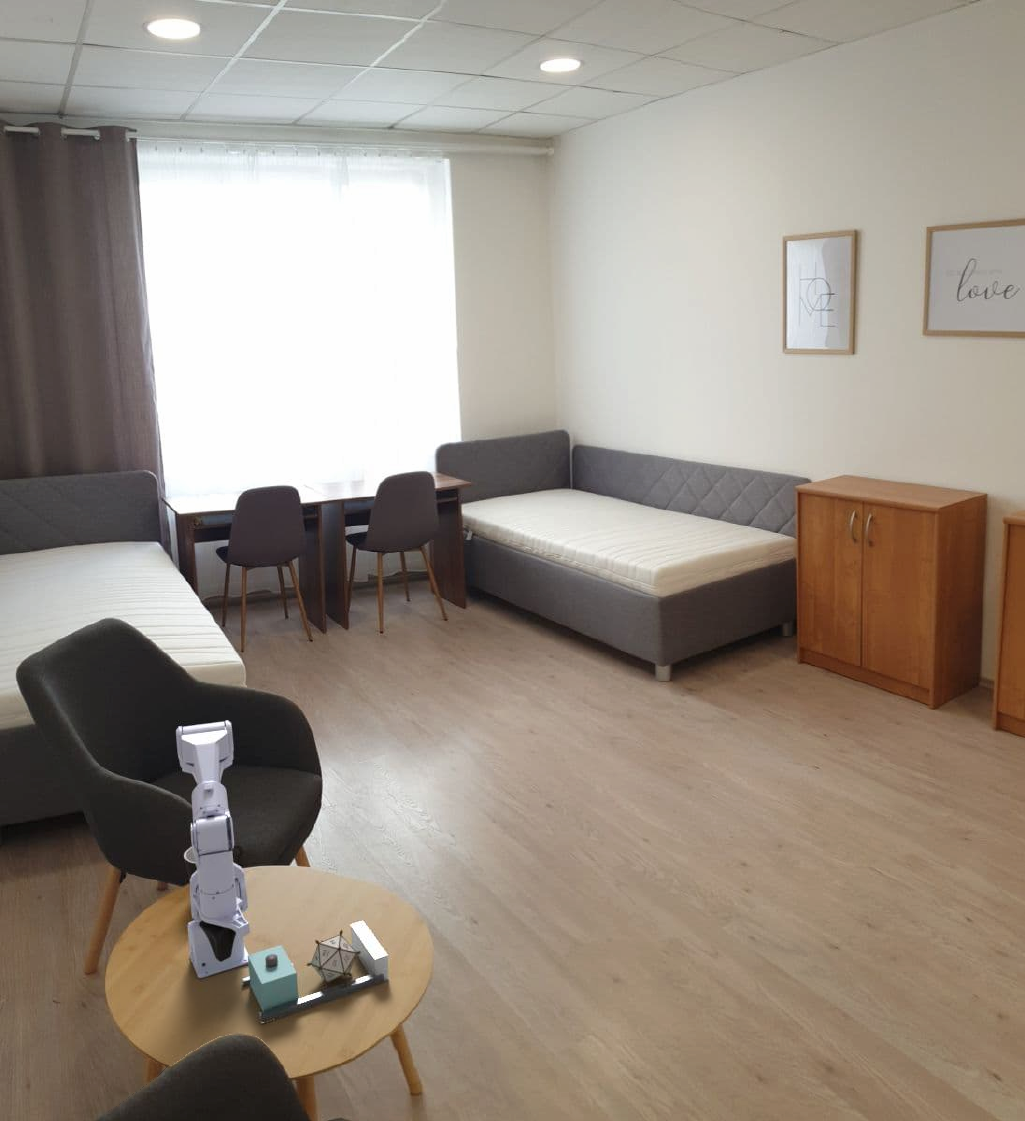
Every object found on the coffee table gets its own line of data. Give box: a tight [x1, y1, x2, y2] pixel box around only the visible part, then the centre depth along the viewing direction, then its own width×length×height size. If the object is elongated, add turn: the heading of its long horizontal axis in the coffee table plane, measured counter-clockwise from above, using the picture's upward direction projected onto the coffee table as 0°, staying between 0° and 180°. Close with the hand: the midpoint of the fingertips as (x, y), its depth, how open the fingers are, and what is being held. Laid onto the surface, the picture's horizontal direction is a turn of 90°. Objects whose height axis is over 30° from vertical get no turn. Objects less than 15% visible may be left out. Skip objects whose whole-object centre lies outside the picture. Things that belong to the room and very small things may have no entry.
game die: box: [306, 929, 361, 989], centre depth 178 cm, size 9×8×10 cm
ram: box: [247, 944, 300, 1012], centre depth 174 cm, size 6×9×7 cm, turn 29°
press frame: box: [241, 920, 390, 1023], centre depth 177 cm, size 23×12×5 cm, turn 119°
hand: (223, 957), depth 168 cm, fingers closed
